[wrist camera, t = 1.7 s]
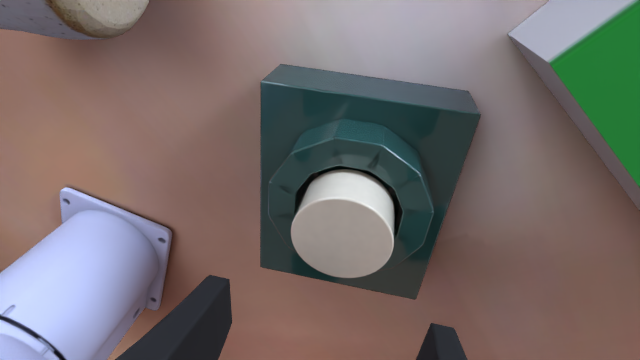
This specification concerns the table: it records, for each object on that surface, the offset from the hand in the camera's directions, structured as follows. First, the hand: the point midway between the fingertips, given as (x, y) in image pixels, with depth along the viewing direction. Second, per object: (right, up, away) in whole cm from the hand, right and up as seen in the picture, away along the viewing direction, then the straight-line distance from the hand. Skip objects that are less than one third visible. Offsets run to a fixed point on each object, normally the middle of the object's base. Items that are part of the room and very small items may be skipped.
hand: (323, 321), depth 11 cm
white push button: (+1, +3, +5) cm, 6 cm away
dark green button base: (+2, +4, +9) cm, 10 cm away
